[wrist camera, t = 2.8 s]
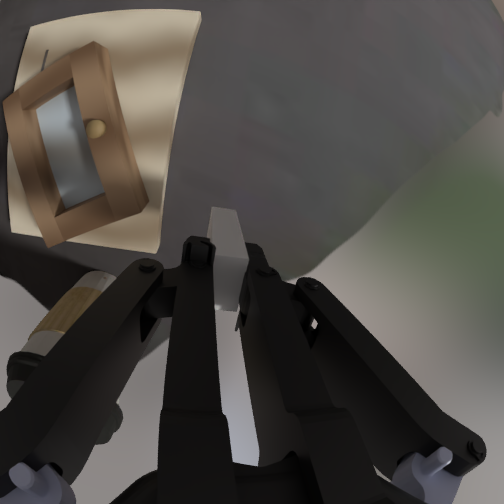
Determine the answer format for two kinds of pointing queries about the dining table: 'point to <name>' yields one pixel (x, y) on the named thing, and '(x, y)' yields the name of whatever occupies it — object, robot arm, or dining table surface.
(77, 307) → the coffee cup
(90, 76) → the frame
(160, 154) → the beige cloth
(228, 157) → the dining table surface
